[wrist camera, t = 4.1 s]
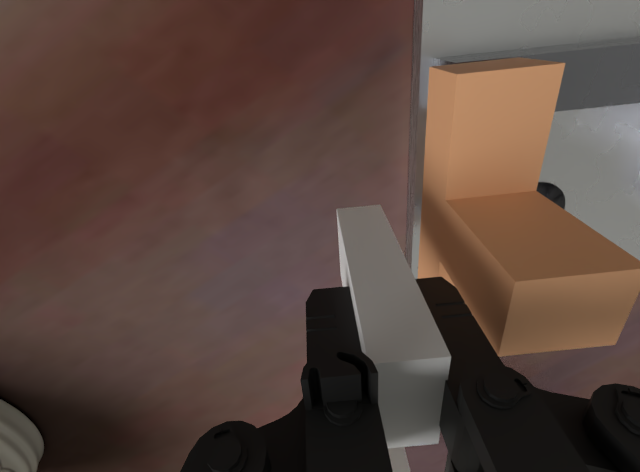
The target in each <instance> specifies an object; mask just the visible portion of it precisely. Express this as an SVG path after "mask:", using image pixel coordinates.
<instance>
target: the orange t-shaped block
mask: <svg viewBox="0 0 640 472" xmlns="http://www.w3.org/2000/svg"><path fill="white" fill-rule="evenodd" d="M564 67H565V63H562V62H554V61H546V60H537V59H529V58H521V57H517V58H508V59H498V60H489V61H479V62H470V63H460V64H451V65H441V66H432V67H429V84H428V101H427V119H426V137H425V155H424V172H423V190H422V208H421V226H420V244H419V261H418V279H420V278H431V277H443V278H444V279H445V280H447V281H448V282H449V283H451V284H452V285H453V286H455V287H456V288H457V290H458V291H459V293H460V295H461V296H462V298H463V300H464V301H465V304H467V306H468V308H469V309H470V311H471V313H472V315H473V316H474V318H475V319H476V321H477V322H478V324H479V326H480V327H481V329H482V331H483V332H484V334H485V335H486V337H487V339H488V340H489V342H490V344H491V345H492V347H493V349H494V350H495V352H496V353H497V355H498V357H500V356H510V355H520V354H529V353H539V352H549V351H559V350H568V349H578V348H588V347H598V346H607V345H615V344H616V342H617V340H618V338H619V336H620V333H621V331H622V329H623V327H624V325H625V322H626V320H627V318H628V316H629V313H630V311H631V309H632V307H633V305H634V302H635V300H636V298H637V296H638V294H639V291H640V261H639V260H638V259H636V258H635V257H634V256H632V255H631V254H629V253H628V252H626V251H625V250H623V249H622V248H620V247H619V246H617V245H616V244H614V243H613V242H611V241H610V240H608V239H607V238H605V237H604V236H602V235H601V234H600V233H598V232H597V231H595V230H594V229H592V228H591V227H589V226H588V225H586V224H585V223H583V222H582V221H580V220H579V219H577V218H576V217H574V216H573V215H571V214H570V213H568V212H567V211H566V210H564V209H563V208H561V207H560V206H558V205H557V204H555V203H554V202H552V201H551V200H549V199H548V198H546V197H545V196H543V195H542V194H540V193H539V192H537V191H536V190H537V186H538V181H539V177H540V172H541V168H542V164H543V159H544V155H545V151H546V146H547V142H548V137H549V133H550V129H551V124H552V120H553V116H554V111H555V107H556V102H557V98H558V94H559V89H560V85H561V81H562V76H563V72H564Z"/></svg>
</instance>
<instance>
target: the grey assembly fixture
mask: <svg viewBox="0 0 640 472" xmlns="http://www.w3.org/2000/svg"><path fill="white" fill-rule="evenodd" d="M517 57H521V58H529V59H537V60H546V61H554V62H562V63H565V67H564V72H563V76H562V81H561V85H560V89H559V94H558V98H557V102H556V107H555V111H554V116H553V120H552V124H551V129H550V133H549V137H548V142H547V146H546V151H545V155H544V159H543V164H542V168H541V172H540V177H539V181H538V186H537V190H536V191H537V192H539V193H540V194H542V195H543V196H545V197H546V198H548V199H549V200H551V201H552V202H554V203H555V204H557V205H558V206H560V207H561V208H563V209H564V210H566V211H567V212H568V213H570V214H571V215H573V216H574V217H576V218H577V219H579V220H580V221H582V222H583V223H585V224H586V225H588V226H589V227H591V228H592V229H594V230H595V231H597V232H598V233H600V234H601V235H602V236H604V237H605V238H607V239H608V240H610V241H611V242H613V243H614V244H616V245H617V246H619V247H620V248H622V249H623V250H625V251H626V252H628V253H629V254H631V255H632V256H634V257H635V258H636V259H638V260H639V261H640V0H414V27H413V56H412V85H411V115H410V144H409V173H408V202H407V232H406V261H407V263H408V265H409V267H410V269H411V271H412V273H413V276H414V278H415V279H418V261H419V244H420V226H421V208H422V190H423V172H424V155H425V137H426V119H427V101H428V84H429V67H432V66H441V65H451V64H460V63H470V62H479V61H489V60H498V59H508V58H517Z"/></svg>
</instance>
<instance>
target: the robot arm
mask: <svg viewBox="0 0 640 472" xmlns="http://www.w3.org/2000/svg"><path fill="white" fill-rule="evenodd" d="M337 223H338V239H339V255H340V272H341V279H342V285H343V287H336V288H325V289H314V290H313V291H312V293H311V294H310V296H309V298H308V300H307V302H306V330H307V364H306V365H305V366H304V368H303V372H302V376H301V386H302V392H303V399H302V400H301V401H300V403H299V404H298V406H297V407H296V408H295V409H293V410H292V411H291V412H290V413H289V414H287V415H285V416H284V417H282V418H280V419H278V420H276V421H274V422H271V423H269V424H267V425H264V426H262V427H260V428H256V427H255V426H254V425H252V424H249V423H246V422H243V421H228V422H225V423H222V424H220V425H218V426H215V427H213V428H212V429H210V430H209V431H208V432H207V433H205V434H204V435H203V436H202V437H201V438H199V440H198V441H197V443H196V444H195V446H194V447H193V449H192V450H191V452H190V453H189V455H188V457H187V459H186V461H185V463H184V465H183V467H182V469H181V471H180V472H393V471H392V466H391V461H390V457H389V452H388V448H398V447H408V446H419V445H430V444H438V443H439V436H440V429H441V432H442V435H443V438H444V441H445V443H446V446H447V449H448V455H447V461H446V467H445V472H640V389H638V388H636V387H633V386H627V385H621V384H609V385H602V386H601V387H599V388H598V389H597V390H595V391H594V392H593V394H592V396H591V399H585V398H579V397H574V396H568V395H563V394H558V393H552V392H548V391H545V390H541V389H538V388H536V387H534V386H533V385H532V384H531V383H530V382H529V381H528V380H527V379H526V377H524V376H523V375H521V374H520V373H518V372H516V371H515V370H513V369H512V368H509V367H506V366H505V365H504V364H503V363H502V362H501V360H500V358H499V357H498V355H497V353H496V352H495V350H494V349H493V347H492V345H491V344H490V342H489V340H488V339H487V337H486V335H485V334H484V332H483V331H482V329H481V327H480V326H479V324H478V322H477V321H476V319H475V318H474V316H472V313H471V311H470V309H469V308H468V306H467V304H465V301H464V300H463V298H462V296H461V295H460V293H459V291H458V290H457V288H456V287H455V286H453V285H452V284H451V283H449V282H448V281H447V280H445V279H444V278H443V277H431V278H420V279H415V278H414V276H413V273H412V271H411V269H410V267H409V265H408V263H407V261H406V258H405V256H404V254H403V252H402V250H401V248H400V246H399V243H398V241H397V239H396V237H395V235H394V233H393V230H392V228H391V226H390V224H389V222H388V220H387V218H386V215H385V213H384V211H383V209H382V207H381V205H371V206H361V207H350V208H339V209H337Z"/></svg>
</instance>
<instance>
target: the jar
mask: <svg viewBox="0 0 640 472" xmlns="http://www.w3.org/2000/svg"><path fill="white" fill-rule="evenodd" d="M43 452H44V442H43V439H42V436H41V434H40V432H39V431H38V429H37V428H36V426H35V425H34V424H33V423H32V422H31V421H30V420H29V419H28V418H27V417H26V416H25V415H24V414H23V413H22V412H20V411H19V410H18V409H16V408H15V407H13V406H11V405H10V404H8V403H7V402H5V401H3V400H1V399H0V472H37V468H38V464H39V461H40V459H41V457H42V455H43Z"/></svg>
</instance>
